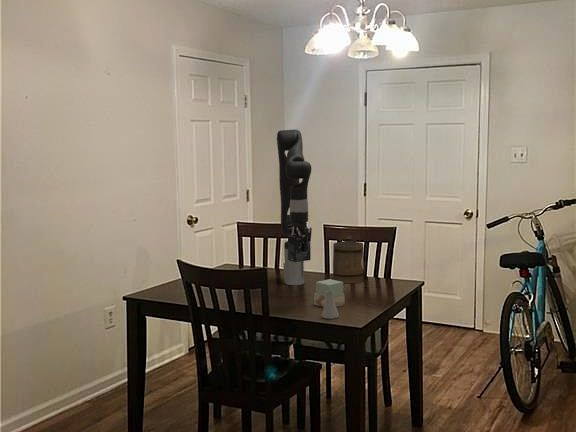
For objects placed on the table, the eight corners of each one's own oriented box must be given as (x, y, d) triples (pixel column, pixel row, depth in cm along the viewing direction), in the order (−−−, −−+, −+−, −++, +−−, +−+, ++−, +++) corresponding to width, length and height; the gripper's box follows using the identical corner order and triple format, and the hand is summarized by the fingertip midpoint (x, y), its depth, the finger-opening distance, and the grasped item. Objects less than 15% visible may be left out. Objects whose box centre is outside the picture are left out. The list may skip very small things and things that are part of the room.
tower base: (314, 305, 273) (314, 293, 272) (330, 301, 278) (330, 290, 278) (328, 309, 266) (328, 297, 265) (344, 305, 271) (344, 293, 271)
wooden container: (369, 281, 315) (369, 236, 313) (345, 285, 308) (345, 239, 305) (350, 275, 328) (350, 232, 325) (327, 279, 320) (326, 235, 317)
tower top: (316, 293, 272) (315, 282, 271) (330, 290, 276) (329, 279, 276) (328, 297, 265) (328, 285, 265) (343, 293, 270) (343, 282, 270)
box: (295, 262, 264) (294, 236, 263) (287, 260, 269) (287, 235, 267) (311, 260, 268) (310, 235, 267) (303, 258, 273) (303, 233, 272)
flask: (319, 314, 257) (319, 290, 256) (337, 314, 257) (337, 289, 256) (322, 319, 250) (321, 294, 248) (340, 319, 250) (340, 293, 249)
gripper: (281, 209, 269) (281, 249, 271) (302, 212, 258) (302, 254, 260) (295, 208, 274) (296, 247, 276) (317, 211, 262) (317, 252, 264)
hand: (299, 250), depth 268 cm, fingers closed on box, 5 cm apart
